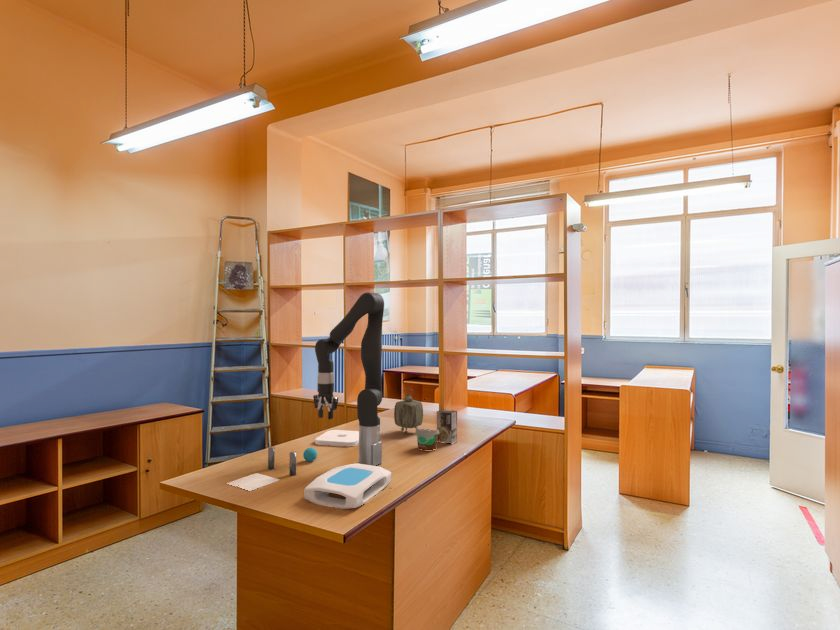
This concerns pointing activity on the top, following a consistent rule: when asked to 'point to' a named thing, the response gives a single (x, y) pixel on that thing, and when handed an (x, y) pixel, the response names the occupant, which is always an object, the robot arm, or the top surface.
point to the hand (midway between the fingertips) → (325, 418)
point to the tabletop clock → (408, 412)
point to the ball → (310, 454)
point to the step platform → (347, 485)
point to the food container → (427, 438)
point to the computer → (338, 438)
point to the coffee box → (447, 425)
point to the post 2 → (292, 464)
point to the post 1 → (271, 457)
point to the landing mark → (253, 481)
